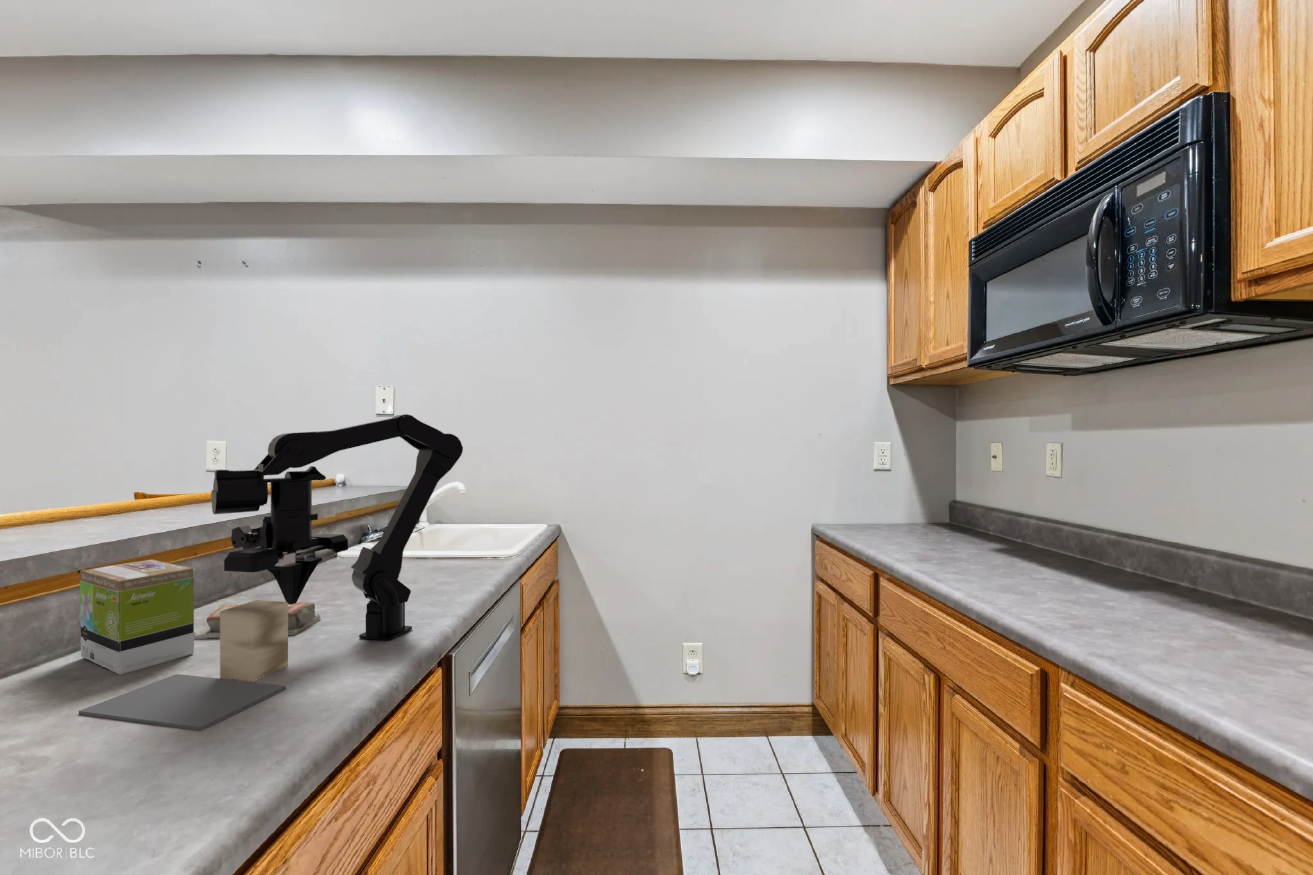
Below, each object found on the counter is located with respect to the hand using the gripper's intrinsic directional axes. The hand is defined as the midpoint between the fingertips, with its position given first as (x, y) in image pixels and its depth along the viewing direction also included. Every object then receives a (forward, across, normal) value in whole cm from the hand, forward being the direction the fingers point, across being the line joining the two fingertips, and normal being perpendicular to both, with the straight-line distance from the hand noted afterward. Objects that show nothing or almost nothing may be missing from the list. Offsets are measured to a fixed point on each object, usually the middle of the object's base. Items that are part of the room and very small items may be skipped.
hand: (291, 603), depth 93 cm
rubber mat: (+8, +17, 0) cm, 19 cm away
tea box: (+9, +6, -25) cm, 27 cm away
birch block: (+9, +7, 0) cm, 11 cm away
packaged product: (+9, -10, -18) cm, 23 cm away
